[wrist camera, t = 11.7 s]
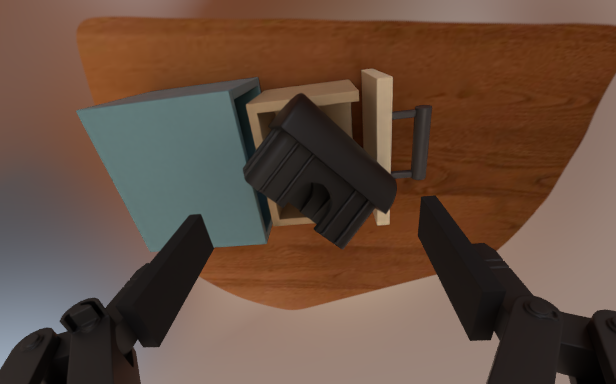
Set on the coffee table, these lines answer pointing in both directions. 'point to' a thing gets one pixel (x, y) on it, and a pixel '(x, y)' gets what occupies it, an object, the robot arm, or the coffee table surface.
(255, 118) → the drawer
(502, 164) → the coffee table surface
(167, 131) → the cabinet
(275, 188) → the end cap
